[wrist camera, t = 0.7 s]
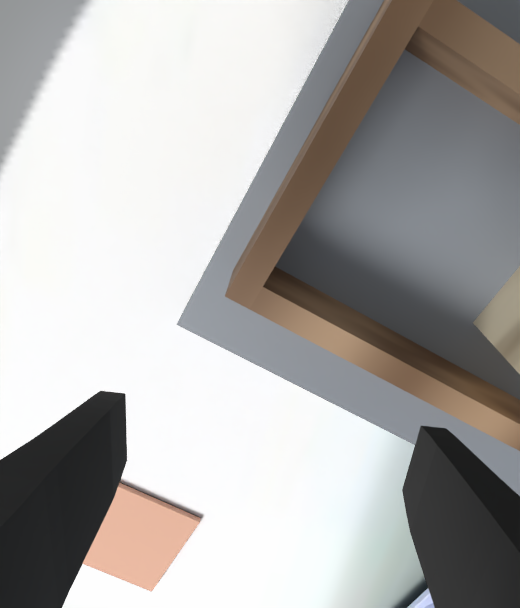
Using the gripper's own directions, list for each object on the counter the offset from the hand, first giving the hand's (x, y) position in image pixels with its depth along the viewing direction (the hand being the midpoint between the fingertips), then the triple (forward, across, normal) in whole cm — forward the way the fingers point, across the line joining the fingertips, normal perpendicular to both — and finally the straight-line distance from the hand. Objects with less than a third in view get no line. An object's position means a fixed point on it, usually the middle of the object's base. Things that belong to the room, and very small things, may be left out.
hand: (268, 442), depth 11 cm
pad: (+10, +7, +16) cm, 21 cm away
